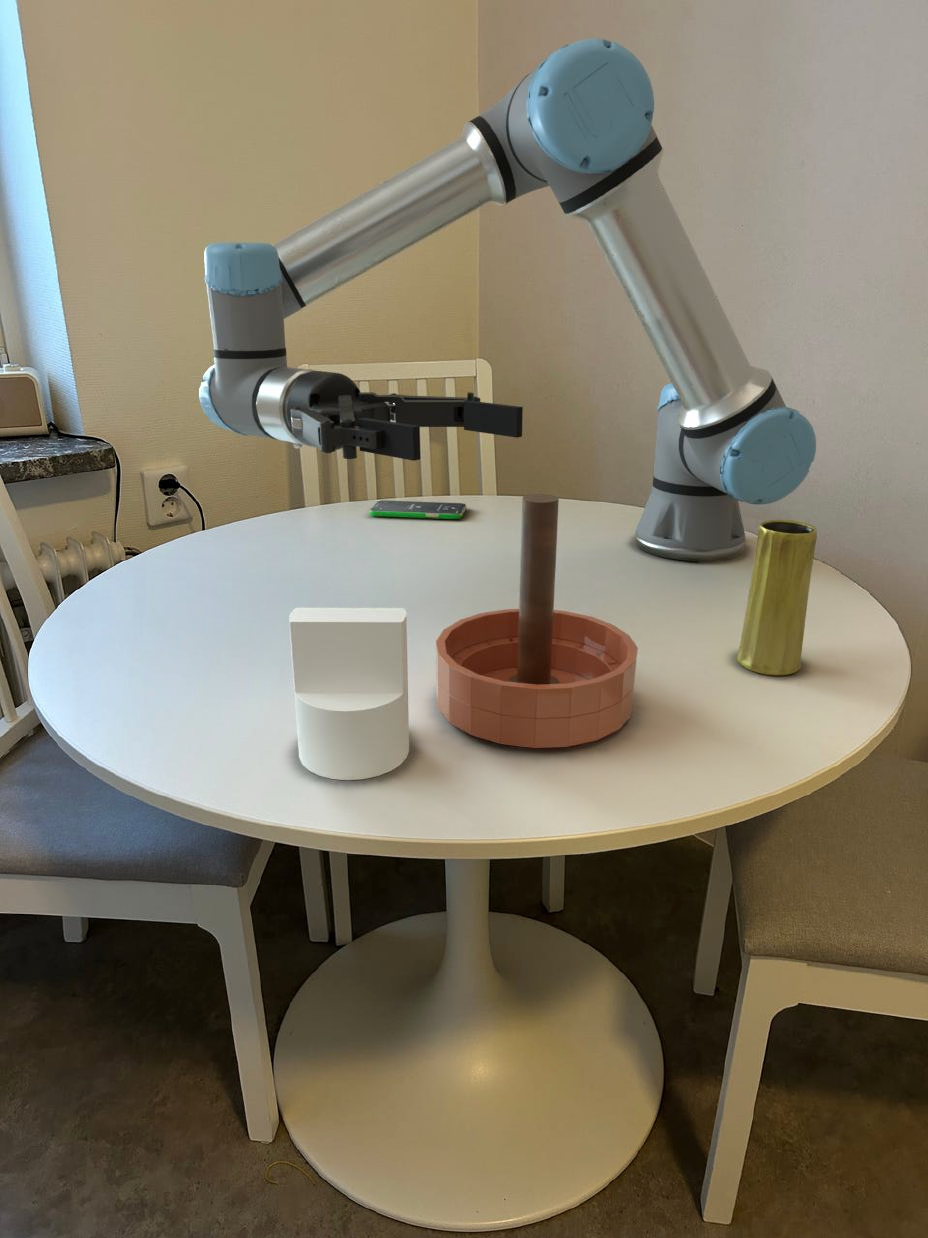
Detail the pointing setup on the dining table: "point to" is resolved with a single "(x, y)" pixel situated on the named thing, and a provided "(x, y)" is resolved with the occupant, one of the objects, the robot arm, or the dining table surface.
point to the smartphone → (418, 509)
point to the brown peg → (537, 589)
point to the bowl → (528, 713)
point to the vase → (778, 598)
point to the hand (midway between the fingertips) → (472, 432)
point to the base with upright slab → (350, 690)
